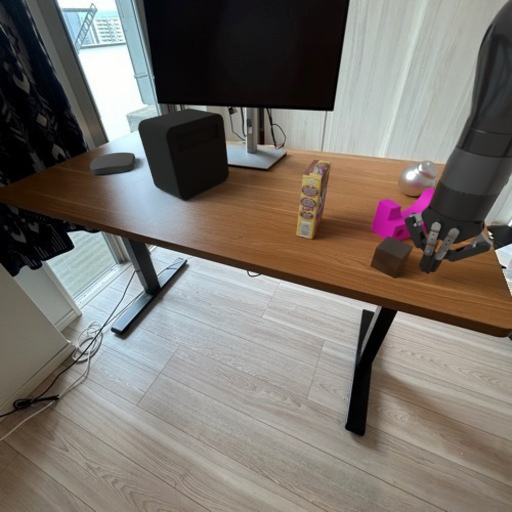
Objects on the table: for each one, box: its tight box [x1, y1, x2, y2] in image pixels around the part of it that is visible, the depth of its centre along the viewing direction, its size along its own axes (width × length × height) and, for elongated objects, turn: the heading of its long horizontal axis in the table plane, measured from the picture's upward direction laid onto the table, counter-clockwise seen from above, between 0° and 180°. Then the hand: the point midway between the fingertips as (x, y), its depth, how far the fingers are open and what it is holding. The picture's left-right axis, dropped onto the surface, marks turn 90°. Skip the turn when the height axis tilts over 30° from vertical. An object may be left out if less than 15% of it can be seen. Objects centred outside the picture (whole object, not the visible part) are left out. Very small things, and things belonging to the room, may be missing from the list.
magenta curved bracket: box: [370, 188, 435, 241], centre depth 62 cm, size 15×6×8 cm, turn 111°
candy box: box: [295, 159, 332, 240], centre depth 60 cm, size 9×4×15 cm, turn 156°
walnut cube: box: [370, 236, 414, 279], centre depth 53 cm, size 5×5×5 cm
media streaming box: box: [89, 151, 137, 175], centre depth 100 cm, size 15×15×3 cm
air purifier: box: [137, 108, 230, 201], centre depth 80 cm, size 20×15×20 cm
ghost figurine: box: [397, 159, 440, 197], centre depth 73 cm, size 9×10×10 cm
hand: (426, 270), depth 49 cm, fingers closed
